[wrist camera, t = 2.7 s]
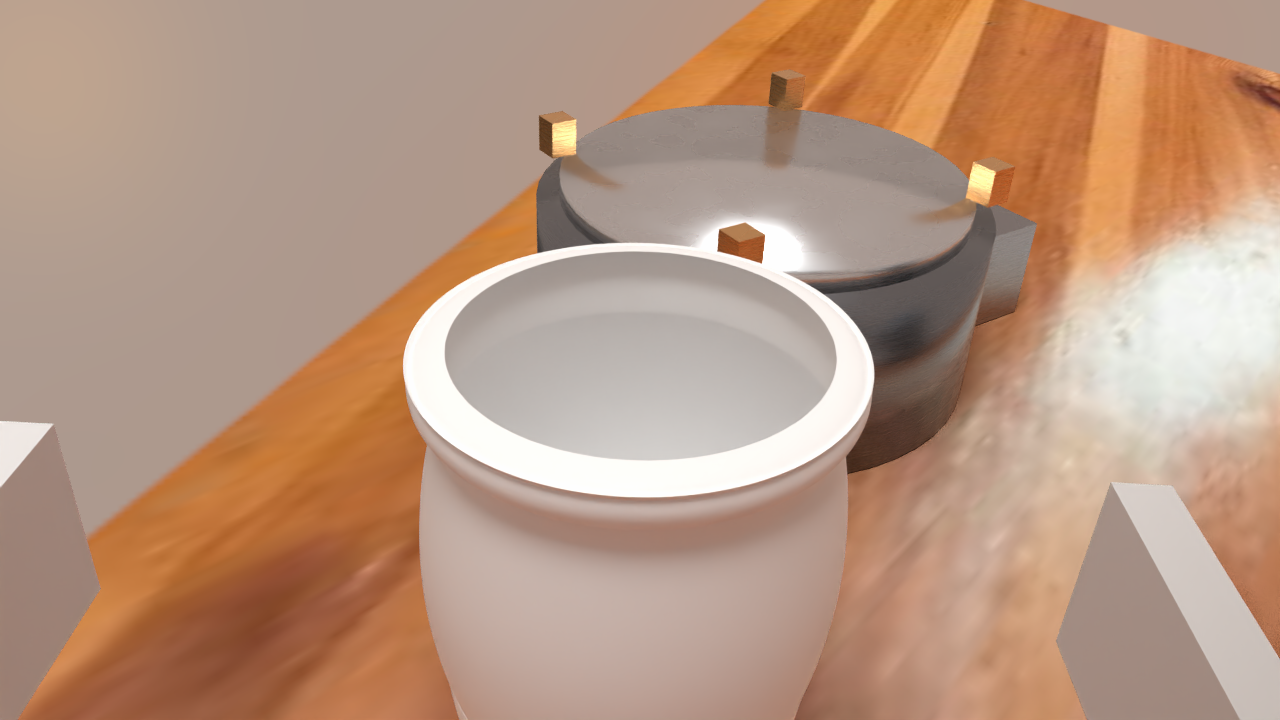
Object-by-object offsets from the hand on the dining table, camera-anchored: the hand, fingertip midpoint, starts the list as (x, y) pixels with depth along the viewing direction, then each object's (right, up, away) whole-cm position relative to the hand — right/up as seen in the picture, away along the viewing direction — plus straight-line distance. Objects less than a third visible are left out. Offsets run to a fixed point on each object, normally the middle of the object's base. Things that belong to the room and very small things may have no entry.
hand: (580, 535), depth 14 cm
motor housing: (+8, +3, +40) cm, 41 cm away
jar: (0, -10, +18) cm, 21 cm away
